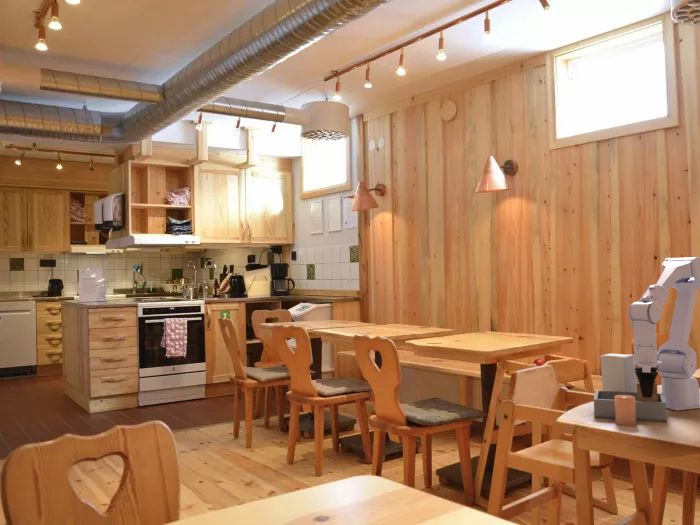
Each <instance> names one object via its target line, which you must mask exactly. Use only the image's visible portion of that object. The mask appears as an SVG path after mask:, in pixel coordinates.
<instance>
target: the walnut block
mask: <svg viewBox="0 0 700 525" xmlns="http://www.w3.org/2000/svg"><path fill="white" fill-rule="evenodd" d="M657 393H658V382H657V381H656V380H655V381H654V385H653V392H652V397H643V396H642V392H641V387H640V383H639V380H638V379H637V401H646V402H658V396H657Z"/></svg>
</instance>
